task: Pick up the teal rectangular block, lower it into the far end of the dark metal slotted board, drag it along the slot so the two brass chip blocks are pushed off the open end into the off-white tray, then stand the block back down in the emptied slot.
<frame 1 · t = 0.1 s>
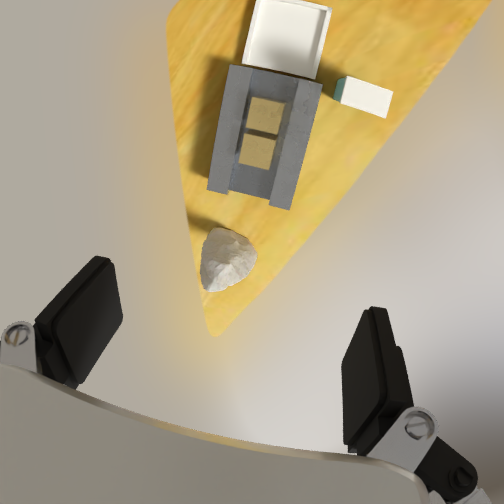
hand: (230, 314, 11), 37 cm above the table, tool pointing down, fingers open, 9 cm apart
slot board: (264, 133, 43), on the table
chip b: (268, 112, 40), point 2 cm above the table, touching slot board
teal rectangular block: (352, 94, 38), on the table
chip a: (260, 145, 42), point 2 cm above the table, touching slot board
tray: (287, 35, 35), on the table
stone tool: (236, 237, 53), on the table
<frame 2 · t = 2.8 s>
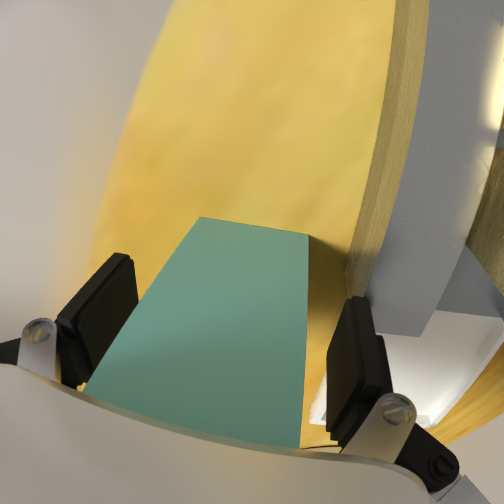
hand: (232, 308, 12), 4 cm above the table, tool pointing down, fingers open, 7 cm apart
teal rectangular block: (249, 254, 15), on the table
tray: (406, 365, 17), on the table
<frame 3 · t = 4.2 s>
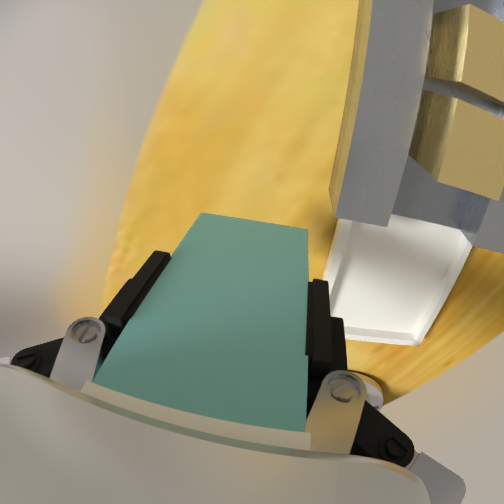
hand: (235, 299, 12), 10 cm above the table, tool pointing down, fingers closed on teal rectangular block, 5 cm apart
slot board: (445, 78, 14), on the table
chip b: (448, 133, 14), point 2 cm above the table, touching slot board
teal rectangular block: (250, 248, 15), point 6 cm above the table, touching gripper
chip a: (463, 56, 12), point 2 cm above the table, touching slot board
tray: (387, 278, 23), on the table
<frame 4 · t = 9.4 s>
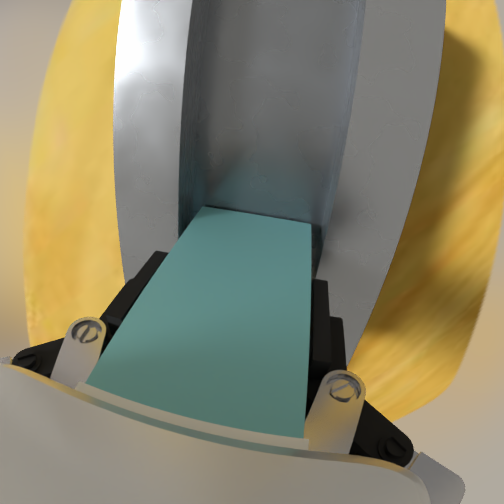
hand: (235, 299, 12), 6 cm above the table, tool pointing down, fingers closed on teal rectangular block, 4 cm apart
slot board: (267, 157, 15), on the table
teal rectangular block: (252, 243, 15), point 2 cm above the table, touching chip a, gripper
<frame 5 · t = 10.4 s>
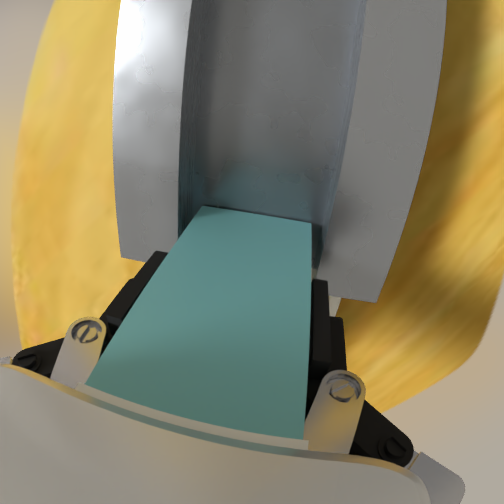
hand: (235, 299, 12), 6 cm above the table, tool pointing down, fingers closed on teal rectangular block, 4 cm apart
slot board: (278, 67, 13), on the table
teal rectangular block: (252, 242, 15), point 2 cm above the table, touching chip a, gripper
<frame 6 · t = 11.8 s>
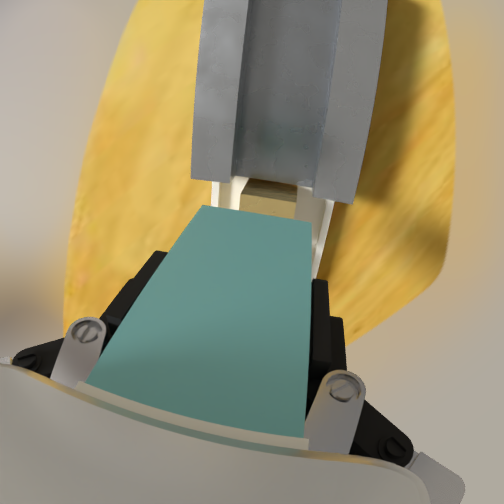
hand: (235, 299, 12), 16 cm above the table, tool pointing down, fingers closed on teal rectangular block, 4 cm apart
slot board: (289, 67, 21), on the table
teal rectangular block: (252, 241, 15), point 13 cm above the table, touching gripper
chip a: (270, 203, 27), point 1 cm above the table, touching tray
tray: (267, 236, 29), on the table
when the fingers open (6 cm above the table, at t = 14.8 s): teal rectangular block stays where it is, resting on slot board.
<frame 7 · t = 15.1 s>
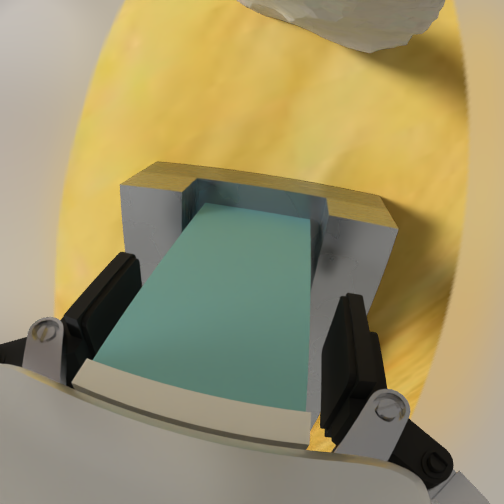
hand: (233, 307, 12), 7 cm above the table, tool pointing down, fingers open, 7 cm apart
slot board: (248, 310, 21), on the table
teal rectangular block: (253, 238, 16), point 2 cm above the table, touching slot board
stone tool: (304, 12, 12), on the table
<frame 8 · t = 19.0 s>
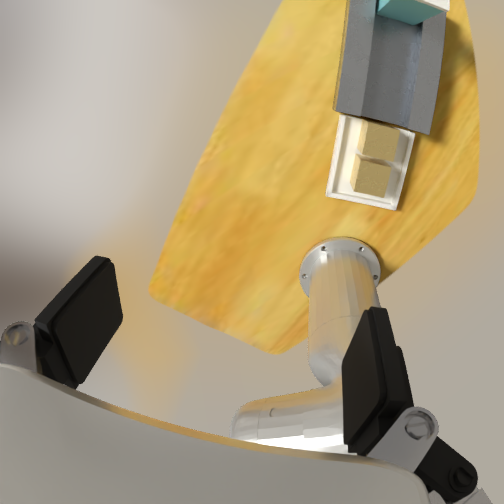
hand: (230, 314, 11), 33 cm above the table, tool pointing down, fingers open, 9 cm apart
slot board: (387, 54, 31), on the table
chip b: (366, 170, 39), point 1 cm above the table, touching tray
teal rectangular block: (396, 9, 26), point 2 cm above the table, touching slot board
chip a: (374, 136, 37), point 1 cm above the table, touching tray
tray: (369, 161, 39), on the table
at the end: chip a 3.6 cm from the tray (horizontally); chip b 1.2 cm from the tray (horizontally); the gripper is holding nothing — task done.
